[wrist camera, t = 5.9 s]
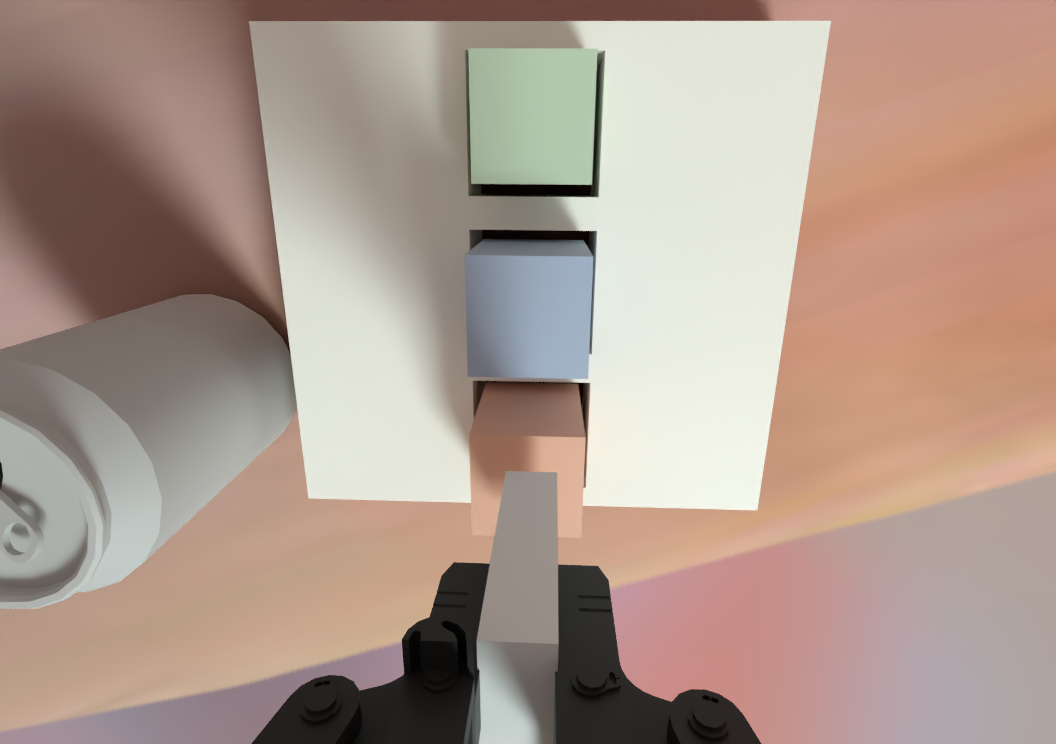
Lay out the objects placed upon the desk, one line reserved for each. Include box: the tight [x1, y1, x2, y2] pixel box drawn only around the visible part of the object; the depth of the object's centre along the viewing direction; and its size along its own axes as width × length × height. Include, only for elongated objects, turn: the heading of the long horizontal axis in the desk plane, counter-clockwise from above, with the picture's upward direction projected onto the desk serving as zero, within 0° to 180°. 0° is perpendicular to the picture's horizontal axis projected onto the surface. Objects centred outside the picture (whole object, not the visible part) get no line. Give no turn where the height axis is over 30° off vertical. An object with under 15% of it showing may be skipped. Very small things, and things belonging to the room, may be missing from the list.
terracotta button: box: [469, 382, 586, 538], centre depth 21 cm, size 4×4×5 cm
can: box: [0, 294, 297, 609], centre depth 20 cm, size 8×8×12 cm
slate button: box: [465, 239, 593, 379], centre depth 19 cm, size 4×4×5 cm
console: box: [249, 21, 831, 510], centre depth 22 cm, size 18×17×4 cm
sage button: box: [468, 48, 597, 185], centre depth 19 cm, size 4×4×5 cm
